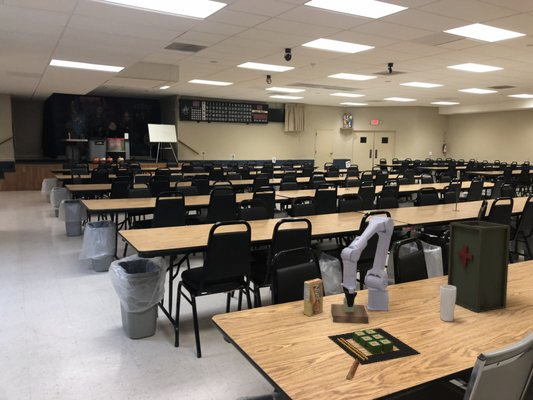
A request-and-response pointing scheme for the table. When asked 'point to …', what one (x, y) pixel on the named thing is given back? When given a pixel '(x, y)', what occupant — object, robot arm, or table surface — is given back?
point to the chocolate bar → (353, 370)
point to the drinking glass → (447, 302)
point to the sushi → (373, 345)
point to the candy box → (313, 297)
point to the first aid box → (479, 264)
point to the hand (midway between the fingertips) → (349, 303)
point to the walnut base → (349, 314)
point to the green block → (345, 306)
